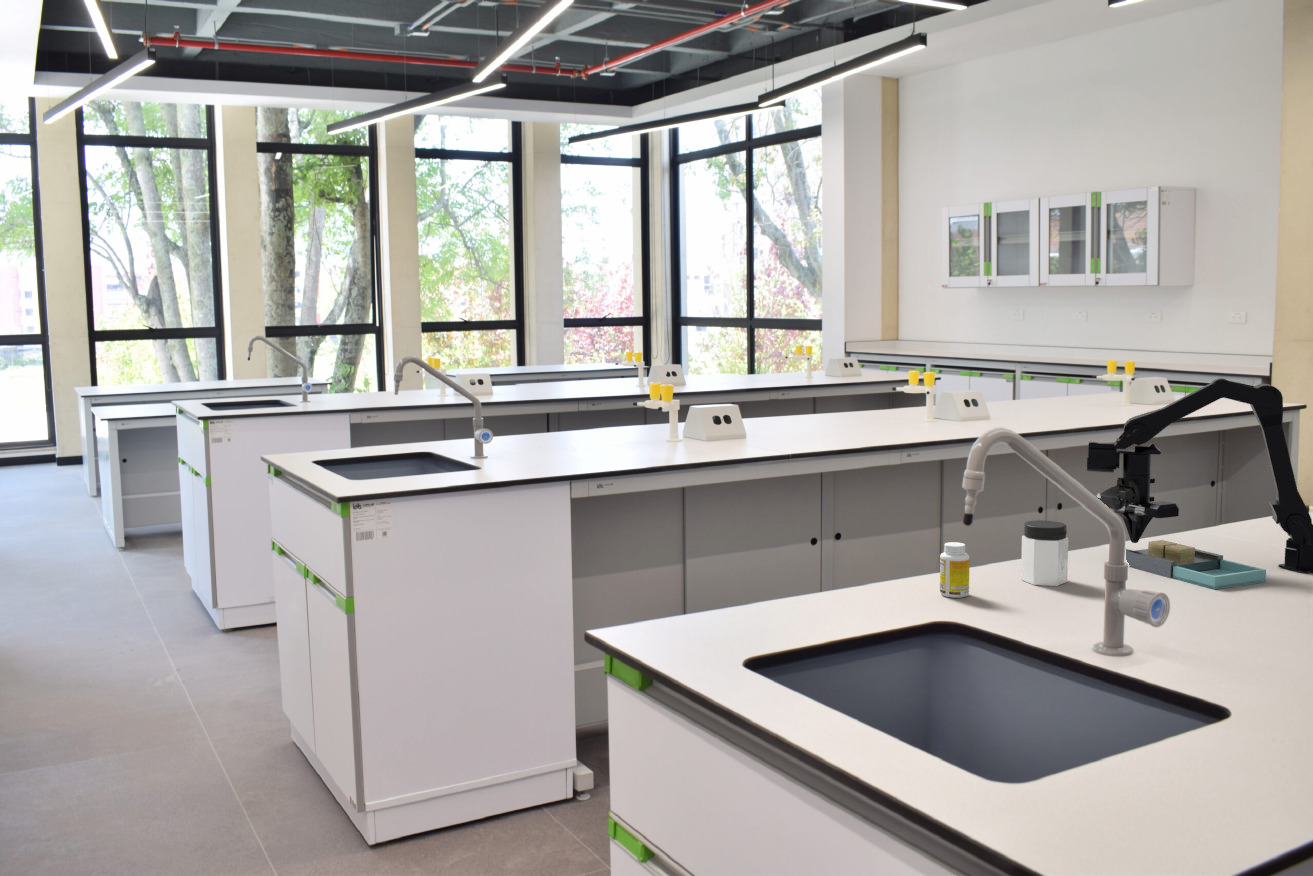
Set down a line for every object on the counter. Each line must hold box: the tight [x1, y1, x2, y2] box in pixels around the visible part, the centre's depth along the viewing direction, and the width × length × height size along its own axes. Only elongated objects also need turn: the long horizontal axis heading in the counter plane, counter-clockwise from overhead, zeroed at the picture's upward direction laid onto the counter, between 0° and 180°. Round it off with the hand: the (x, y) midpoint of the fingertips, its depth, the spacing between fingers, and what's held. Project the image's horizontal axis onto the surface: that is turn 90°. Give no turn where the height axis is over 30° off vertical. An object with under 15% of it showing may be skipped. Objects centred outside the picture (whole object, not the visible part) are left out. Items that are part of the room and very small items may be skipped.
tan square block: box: [1147, 539, 1178, 557], centre depth 226 cm, size 4×4×2 cm
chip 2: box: [1165, 543, 1196, 561], centre depth 222 cm, size 4×4×2 cm
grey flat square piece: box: [1125, 548, 1224, 579], centre depth 224 cm, size 14×14×3 cm
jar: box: [1020, 519, 1069, 587], centre depth 214 cm, size 9×8×12 cm
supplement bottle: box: [939, 541, 970, 599], centre depth 205 cm, size 6×6×10 cm
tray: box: [1172, 559, 1267, 591], centre depth 213 cm, size 14×10×2 cm
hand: (1134, 542), depth 233 cm, fingers closed
